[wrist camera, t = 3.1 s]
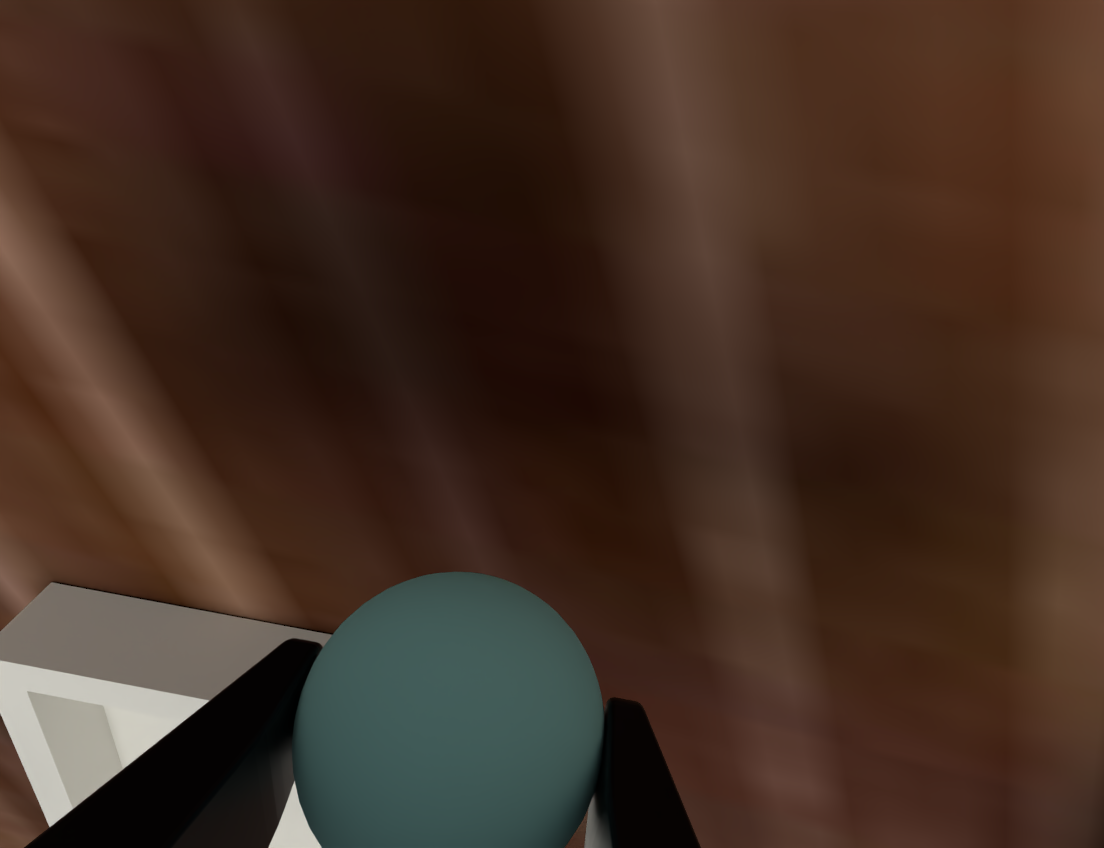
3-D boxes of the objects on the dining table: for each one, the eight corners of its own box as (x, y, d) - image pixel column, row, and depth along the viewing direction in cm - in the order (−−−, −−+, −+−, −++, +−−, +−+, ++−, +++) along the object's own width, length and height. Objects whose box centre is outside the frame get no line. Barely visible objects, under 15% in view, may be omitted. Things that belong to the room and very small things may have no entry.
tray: (529, 671, 19) (513, 759, 16) (488, 914, 25) (473, 998, 23) (51, 582, 19) (-25, 655, 17) (136, 843, 26) (90, 919, 24)
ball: (634, 540, 9) (626, 819, 6) (589, 719, 11) (566, 1002, 8) (355, 490, 9) (207, 740, 6) (359, 676, 11) (247, 938, 8)
